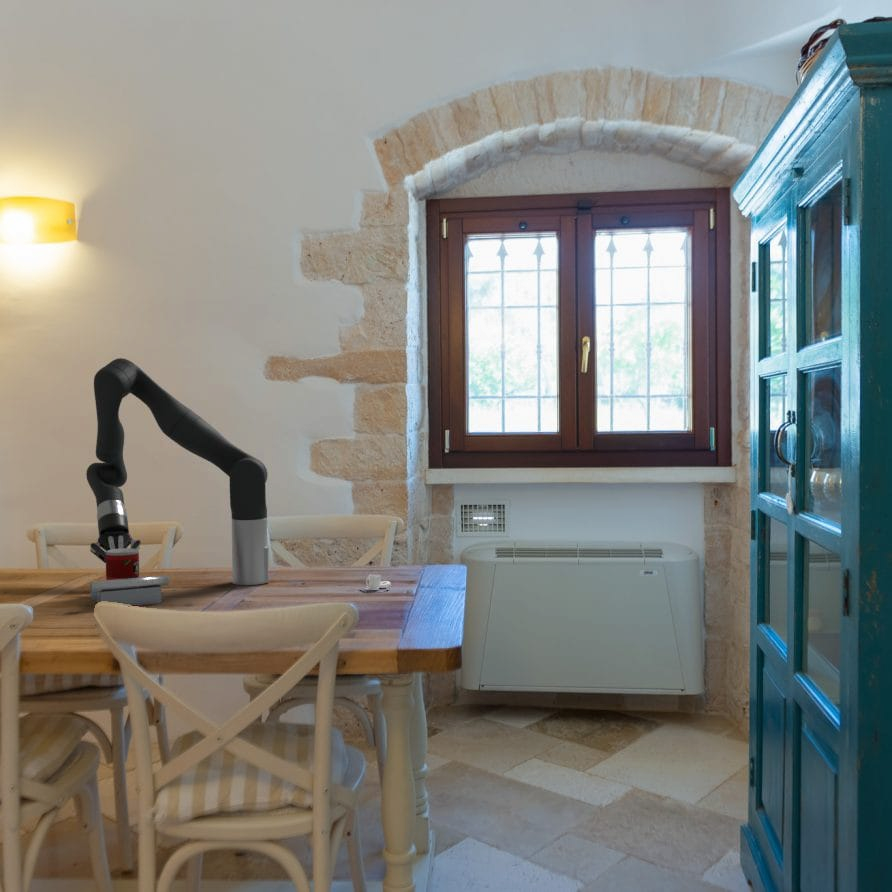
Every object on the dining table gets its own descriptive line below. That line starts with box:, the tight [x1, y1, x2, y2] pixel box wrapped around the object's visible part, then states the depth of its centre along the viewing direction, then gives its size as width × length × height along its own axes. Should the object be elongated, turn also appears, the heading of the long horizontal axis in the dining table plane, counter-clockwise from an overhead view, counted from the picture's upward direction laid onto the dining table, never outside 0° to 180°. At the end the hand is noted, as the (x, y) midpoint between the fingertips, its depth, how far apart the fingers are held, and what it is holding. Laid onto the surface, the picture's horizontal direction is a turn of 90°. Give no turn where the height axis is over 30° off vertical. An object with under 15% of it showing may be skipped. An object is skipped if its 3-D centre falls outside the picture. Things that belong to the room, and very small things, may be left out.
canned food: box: [105, 547, 140, 580], centre depth 222 cm, size 8×8×11 cm
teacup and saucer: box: [365, 573, 391, 590], centre depth 227 cm, size 9×8×4 cm
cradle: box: [89, 574, 170, 606], centre depth 214 cm, size 17×14×6 cm
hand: (118, 573), depth 227 cm, fingers closed
